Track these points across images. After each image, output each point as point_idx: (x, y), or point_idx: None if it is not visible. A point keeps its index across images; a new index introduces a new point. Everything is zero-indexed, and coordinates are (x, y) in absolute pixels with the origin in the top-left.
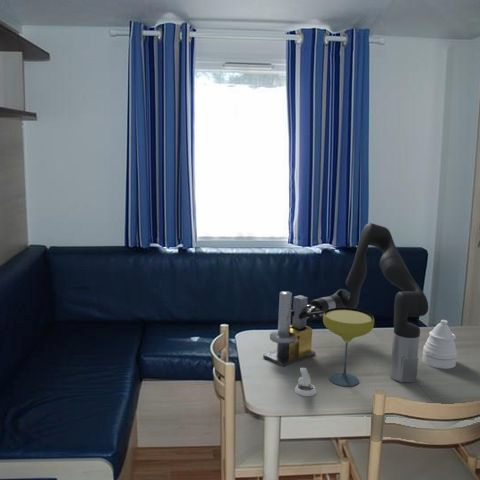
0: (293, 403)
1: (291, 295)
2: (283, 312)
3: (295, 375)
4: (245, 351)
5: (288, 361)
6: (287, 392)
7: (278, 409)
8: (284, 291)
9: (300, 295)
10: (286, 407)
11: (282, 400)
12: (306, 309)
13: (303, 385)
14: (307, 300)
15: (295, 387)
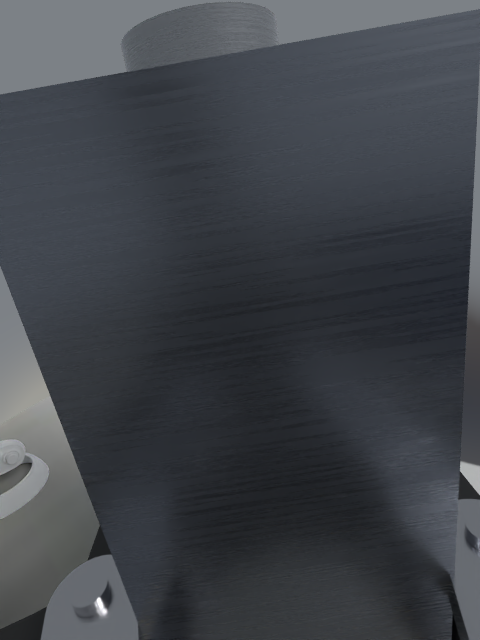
0: (21, 428)
1: (125, 63)
2: None
3: (96, 534)
4: (476, 481)
5: None
6: (63, 442)
7: (49, 396)
8: (263, 11)
9: (405, 35)
10: (33, 410)
11: (57, 416)
12: (129, 551)
13: (19, 497)
14: (4, 269)
15: (41, 460)
